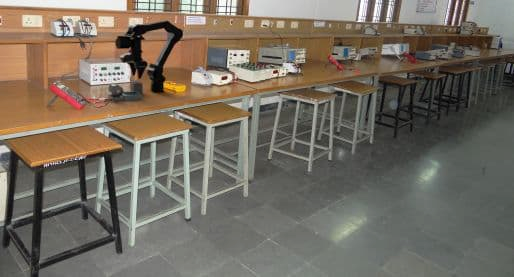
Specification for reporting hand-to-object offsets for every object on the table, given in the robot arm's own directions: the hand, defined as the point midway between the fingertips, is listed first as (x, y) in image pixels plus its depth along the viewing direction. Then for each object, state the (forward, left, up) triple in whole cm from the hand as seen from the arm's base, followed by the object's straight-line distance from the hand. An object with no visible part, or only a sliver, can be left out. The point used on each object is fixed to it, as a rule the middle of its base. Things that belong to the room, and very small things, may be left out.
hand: (136, 77), depth 231 cm
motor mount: (+10, +10, -9) cm, 17 cm away
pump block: (0, 0, -9) cm, 9 cm away
